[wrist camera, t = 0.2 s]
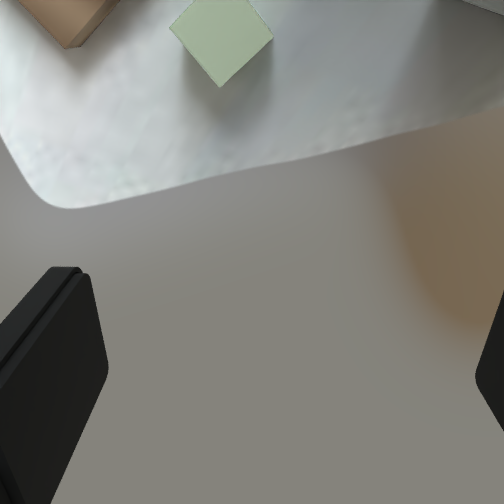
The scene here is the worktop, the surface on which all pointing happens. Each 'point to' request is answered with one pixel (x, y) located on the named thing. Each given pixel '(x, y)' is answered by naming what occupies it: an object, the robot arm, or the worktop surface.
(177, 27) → the sage block
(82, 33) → the walnut plinth
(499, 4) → the skincare box
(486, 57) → the worktop surface
